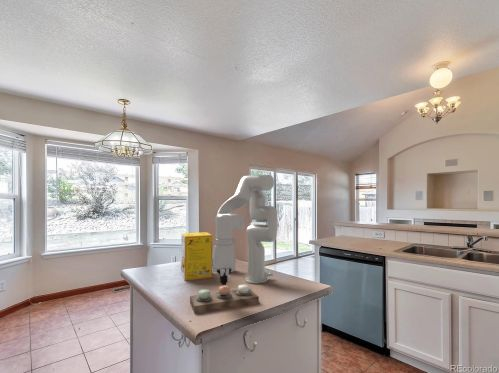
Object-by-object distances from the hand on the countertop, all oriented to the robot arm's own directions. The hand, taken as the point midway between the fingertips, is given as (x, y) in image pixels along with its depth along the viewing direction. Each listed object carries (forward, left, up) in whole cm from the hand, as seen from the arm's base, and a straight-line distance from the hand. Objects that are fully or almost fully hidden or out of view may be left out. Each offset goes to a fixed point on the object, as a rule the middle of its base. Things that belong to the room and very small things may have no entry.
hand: (223, 284), depth 114 cm
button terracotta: (0, 0, -4) cm, 4 cm away
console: (0, 0, -8) cm, 8 cm away
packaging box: (+4, -49, -9) cm, 50 cm away
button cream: (-9, 0, -4) cm, 10 cm away
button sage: (+9, 0, -4) cm, 10 cm away
